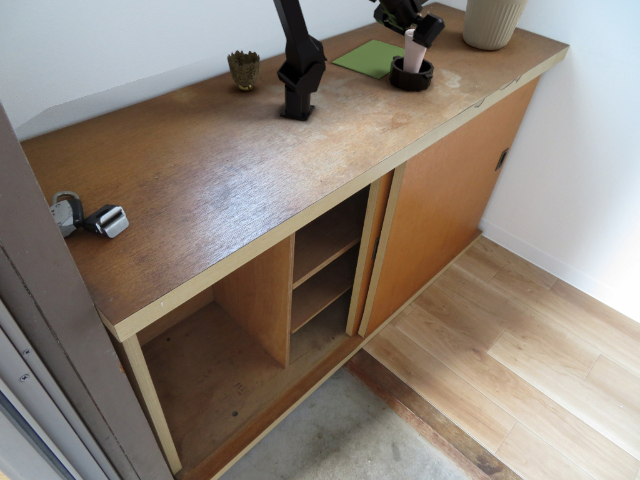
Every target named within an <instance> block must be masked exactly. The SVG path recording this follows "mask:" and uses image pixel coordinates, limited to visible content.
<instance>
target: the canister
mask: <svg viewBox="0 0 640 480" xmlns="http://www.w3.org/2000/svg"><path fill="white" fill-rule="evenodd" d="M528 1H529V0H467V1H466V6H465V13H464V21H463V26H462V37H463V40H464V42H465V43H466V44H467V45H469V46H471V47H473V48H476V49H479V50H486V51H496V50H501V49H502V48H504V47H505V46H507V44H508V43H509V41H510V40H511V38H512V36H513V34H514V32H515V30H516V27H517V26H518V24H519V21H520V20H521V16H522V15H523V12H524V10H525V8H526V6H527V4H528Z"/></svg>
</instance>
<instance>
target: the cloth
mask: <svg viewBox="0 0 640 480" xmlns="http://www.w3.org/2000/svg"><path fill="white" fill-rule="evenodd" d="M404 52H405V47H400V46H397V45H394V44H391V43H387V42H384V41H380V40H377V39H372V40H369V41H367V42H365V43H364V44H362V45H360V46H359V47H356V48H355V49H353V50H351V51H349V52H347V53H346V54H343V55H342V56H340V57H338V58H336V59H335V60H334V59H333V61H331V64H333V65H336V66H338V67H342V68H345V69H347V70H349V71H354V72H356V73H359V74H362V75H365V76H368V77H371V78H374V79H377V80H381V79H383V78H385V76H387V75H389V73H390V67H391V62H392V61H393V56H398V55H399V56H400V57H402V56H404Z"/></svg>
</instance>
